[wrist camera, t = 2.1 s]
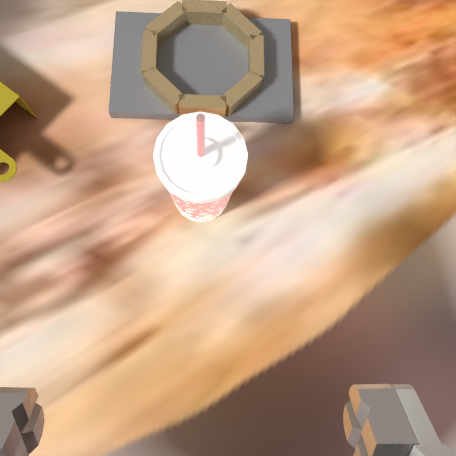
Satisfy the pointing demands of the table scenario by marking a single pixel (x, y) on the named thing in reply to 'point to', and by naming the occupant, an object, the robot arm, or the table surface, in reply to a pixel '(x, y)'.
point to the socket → (202, 15)
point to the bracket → (3, 99)
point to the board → (201, 69)
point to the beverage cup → (200, 163)
